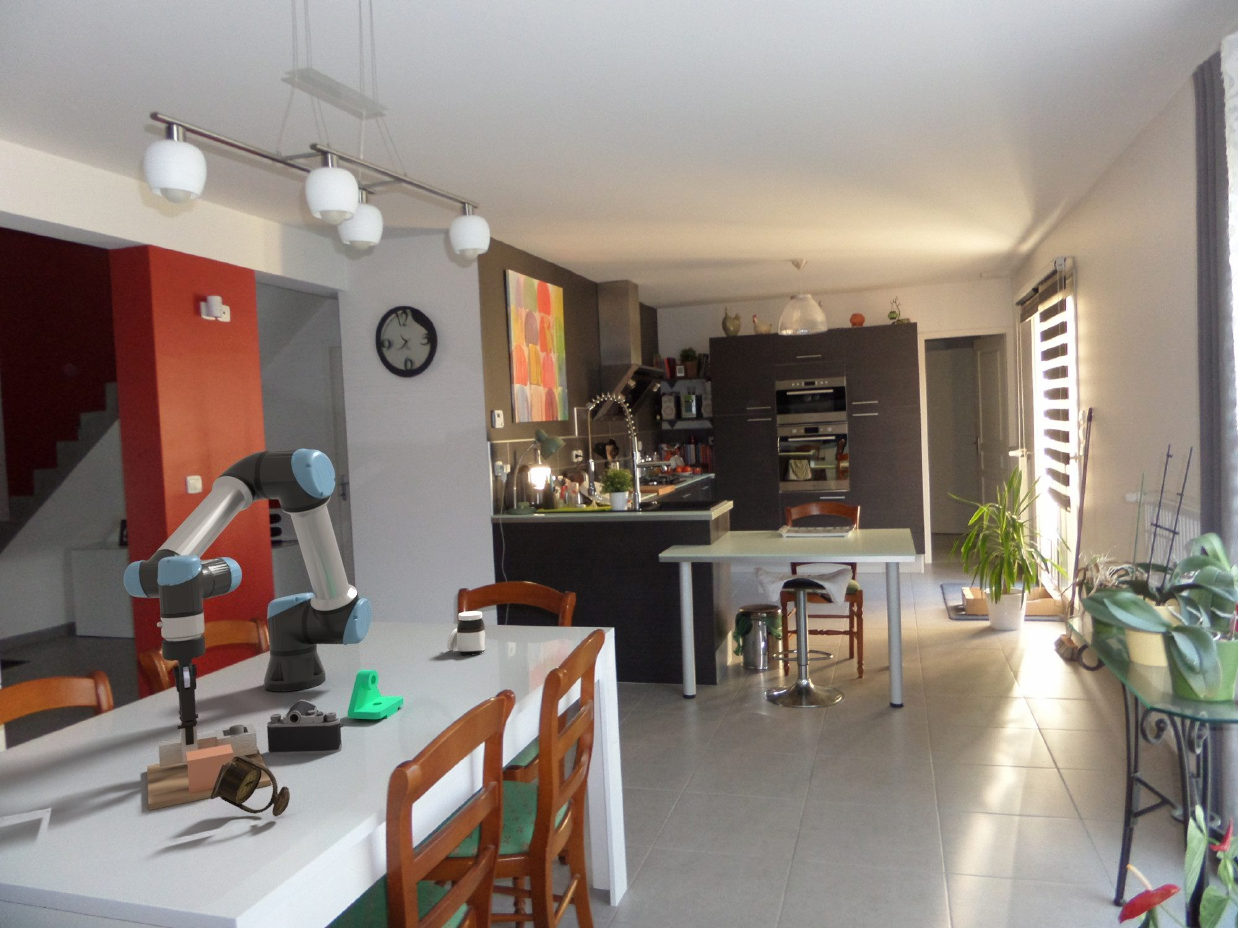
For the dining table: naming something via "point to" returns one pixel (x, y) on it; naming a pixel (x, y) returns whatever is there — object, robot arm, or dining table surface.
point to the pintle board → (185, 781)
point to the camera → (304, 731)
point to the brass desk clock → (247, 785)
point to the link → (210, 744)
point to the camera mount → (371, 698)
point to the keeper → (206, 766)
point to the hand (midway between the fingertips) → (190, 756)
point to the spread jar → (468, 634)
